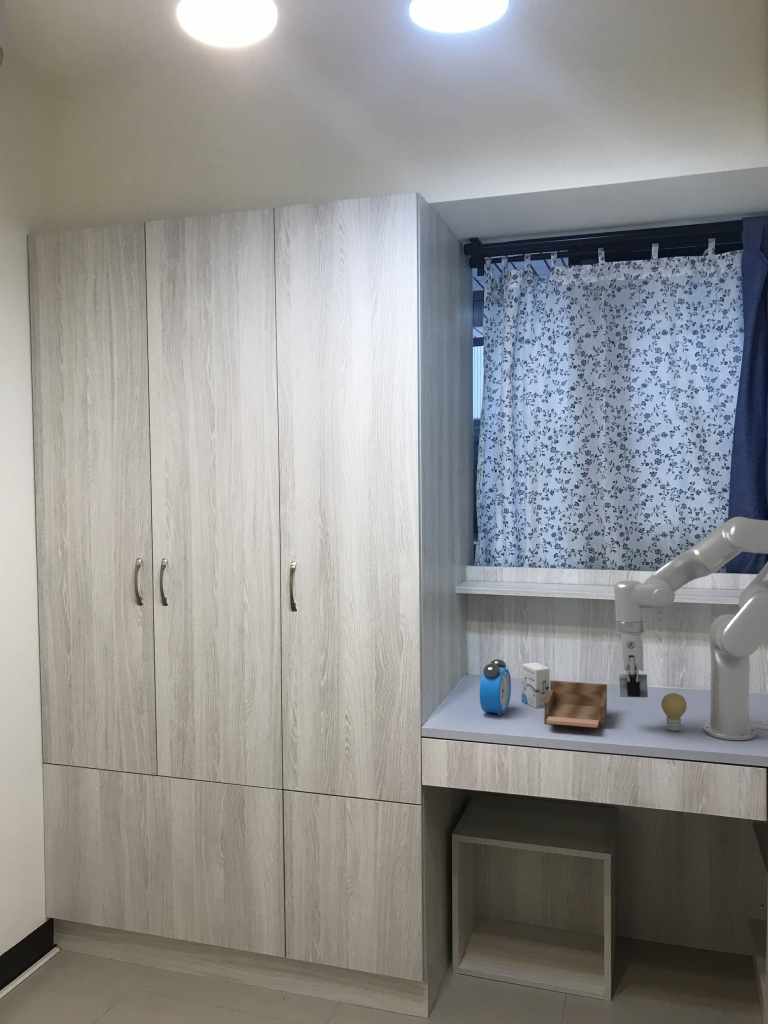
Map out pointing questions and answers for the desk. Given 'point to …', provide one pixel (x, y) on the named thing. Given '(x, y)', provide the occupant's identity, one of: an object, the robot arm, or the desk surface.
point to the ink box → (535, 684)
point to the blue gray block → (642, 680)
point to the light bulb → (673, 710)
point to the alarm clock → (495, 687)
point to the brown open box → (577, 701)
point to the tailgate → (572, 721)
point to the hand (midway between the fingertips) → (634, 693)
